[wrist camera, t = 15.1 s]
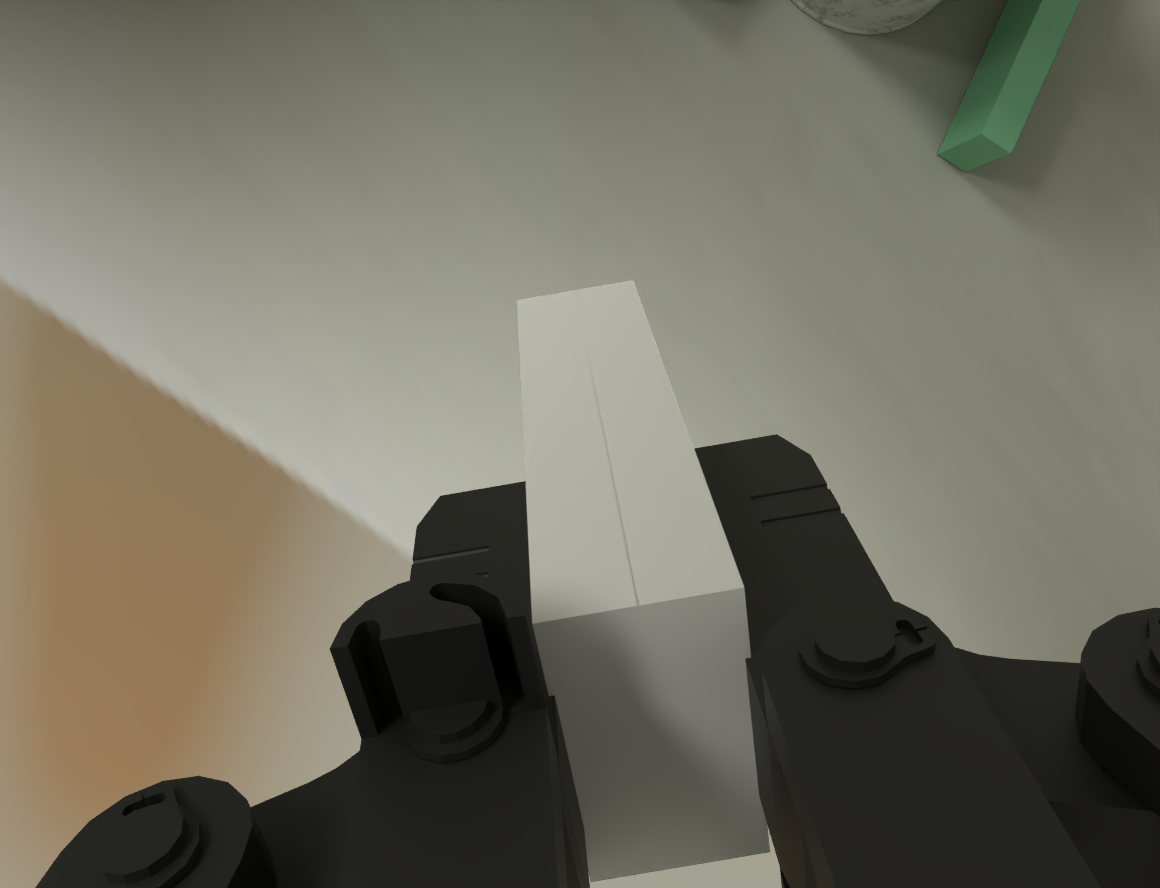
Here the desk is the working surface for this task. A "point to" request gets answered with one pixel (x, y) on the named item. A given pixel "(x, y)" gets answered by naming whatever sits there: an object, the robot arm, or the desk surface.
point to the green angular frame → (1006, 81)
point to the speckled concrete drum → (866, 13)
